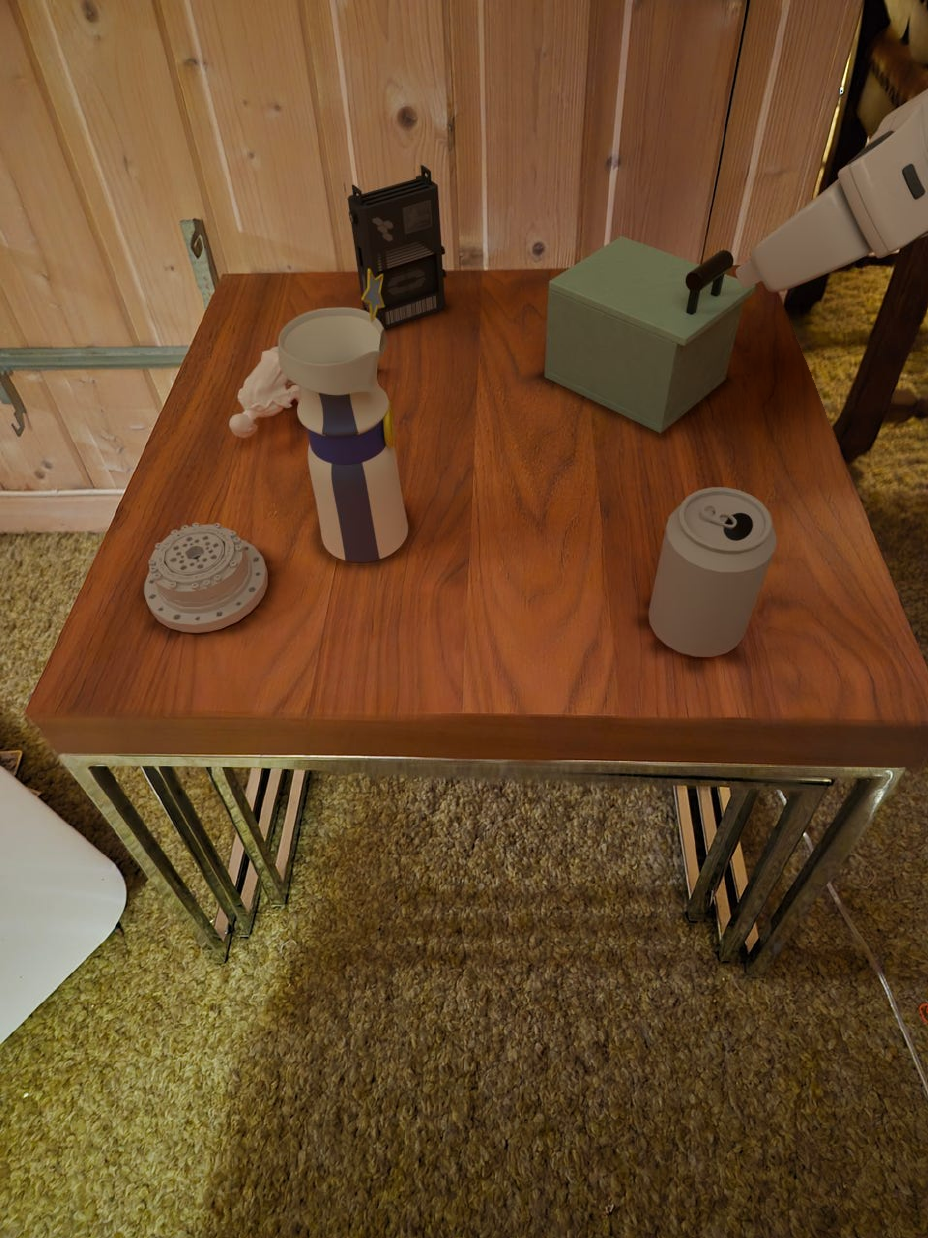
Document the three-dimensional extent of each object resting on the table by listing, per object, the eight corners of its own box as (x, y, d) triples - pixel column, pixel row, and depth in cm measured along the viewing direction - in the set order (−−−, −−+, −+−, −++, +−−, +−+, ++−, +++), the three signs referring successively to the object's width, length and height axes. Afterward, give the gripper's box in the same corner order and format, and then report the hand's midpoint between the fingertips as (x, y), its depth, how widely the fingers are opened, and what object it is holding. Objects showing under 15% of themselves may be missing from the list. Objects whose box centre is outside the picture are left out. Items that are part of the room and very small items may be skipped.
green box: (725, 379, 86) (746, 290, 79) (660, 433, 81) (676, 344, 74) (610, 329, 93) (620, 243, 86) (544, 376, 88) (548, 289, 80)
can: (726, 678, 63) (764, 569, 54) (632, 641, 65) (653, 531, 56) (756, 610, 67) (796, 498, 58) (666, 578, 69) (691, 466, 60)
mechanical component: (284, 607, 69) (249, 532, 75) (273, 571, 65) (237, 495, 71) (164, 652, 66) (138, 571, 72) (146, 617, 63) (120, 534, 69)
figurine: (322, 396, 94) (204, 430, 80) (328, 324, 90) (204, 346, 76) (373, 415, 92) (260, 453, 78) (381, 341, 88) (263, 368, 74)
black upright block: (434, 288, 100) (425, 155, 88) (453, 305, 97) (446, 170, 86) (356, 315, 97) (335, 180, 85) (373, 333, 94) (355, 197, 83)
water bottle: (413, 494, 77) (384, 222, 58) (412, 562, 72) (378, 286, 52) (324, 498, 77) (265, 227, 58) (316, 565, 72) (247, 292, 52)
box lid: (754, 292, 79) (766, 242, 75) (684, 346, 73) (694, 295, 70) (620, 242, 86) (625, 194, 82) (548, 288, 80) (550, 239, 77)
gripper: (981, 72, 61) (820, 175, 73) (844, 168, 52) (686, 267, 64) (1015, 153, 63) (851, 241, 75) (887, 259, 54) (725, 339, 66)
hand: (774, 254), depth 70 cm, fingers open, 8 cm apart
